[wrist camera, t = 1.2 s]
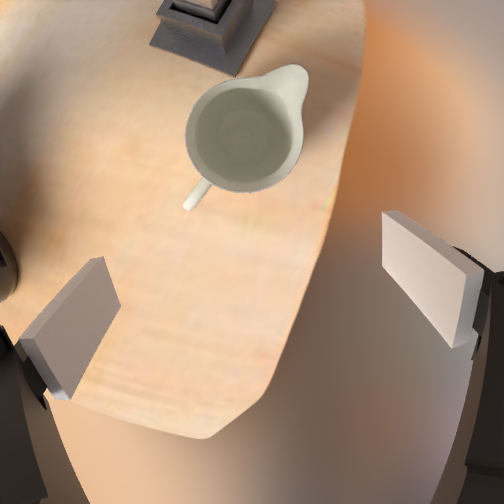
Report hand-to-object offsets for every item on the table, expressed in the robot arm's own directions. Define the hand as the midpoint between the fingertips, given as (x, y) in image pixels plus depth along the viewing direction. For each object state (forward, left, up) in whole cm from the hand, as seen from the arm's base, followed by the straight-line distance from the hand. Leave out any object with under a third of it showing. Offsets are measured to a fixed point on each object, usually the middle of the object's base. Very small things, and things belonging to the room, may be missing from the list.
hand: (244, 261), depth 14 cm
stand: (-12, +17, -28) cm, 35 cm away
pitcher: (-2, +4, -29) cm, 29 cm away
